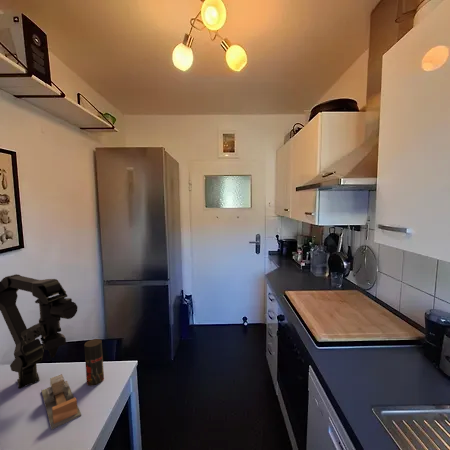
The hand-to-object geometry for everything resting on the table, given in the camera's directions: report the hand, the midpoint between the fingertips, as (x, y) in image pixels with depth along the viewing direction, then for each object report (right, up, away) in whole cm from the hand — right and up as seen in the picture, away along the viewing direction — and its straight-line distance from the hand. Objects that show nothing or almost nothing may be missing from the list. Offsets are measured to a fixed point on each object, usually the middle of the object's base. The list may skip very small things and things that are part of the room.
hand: (52, 356), depth 98 cm
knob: (+5, -12, -4) cm, 14 cm away
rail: (+7, -12, -7) cm, 16 cm away
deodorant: (+13, -12, +5) cm, 18 cm away
